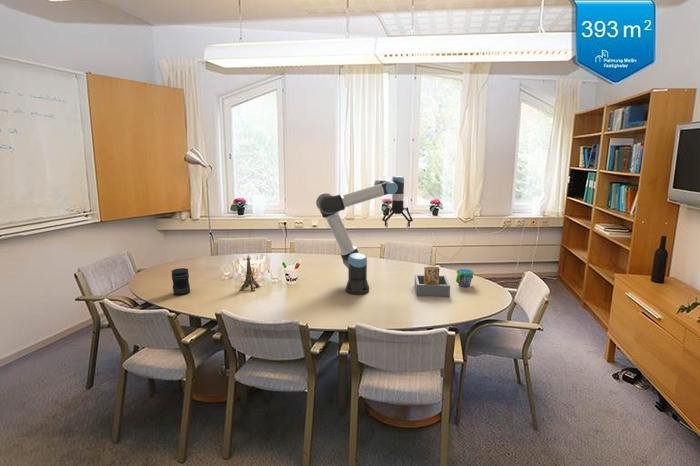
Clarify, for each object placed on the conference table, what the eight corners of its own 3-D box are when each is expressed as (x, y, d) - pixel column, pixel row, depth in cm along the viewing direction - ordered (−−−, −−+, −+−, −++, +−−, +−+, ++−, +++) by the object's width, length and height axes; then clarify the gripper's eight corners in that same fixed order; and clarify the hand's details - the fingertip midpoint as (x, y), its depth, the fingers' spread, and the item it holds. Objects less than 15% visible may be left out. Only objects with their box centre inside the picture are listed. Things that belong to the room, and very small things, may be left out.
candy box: (437, 288, 265) (438, 265, 262) (438, 290, 261) (439, 267, 258) (423, 288, 265) (424, 265, 262) (424, 290, 261) (425, 267, 258)
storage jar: (186, 289, 266) (184, 267, 263) (192, 293, 260) (191, 270, 257) (170, 293, 260) (168, 270, 257) (177, 297, 253) (175, 273, 250)
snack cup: (466, 281, 282) (466, 267, 280) (478, 285, 274) (479, 270, 271) (450, 285, 274) (450, 270, 272) (462, 290, 265) (463, 274, 263)
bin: (416, 296, 254) (416, 284, 252) (414, 285, 273) (414, 274, 272) (449, 297, 252) (450, 285, 251) (445, 286, 272) (445, 275, 270)
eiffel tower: (254, 292, 262) (252, 254, 257) (238, 290, 264) (236, 253, 259) (260, 286, 272) (259, 249, 267) (245, 285, 274) (243, 249, 269)
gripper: (416, 199, 274) (415, 230, 279) (379, 199, 276) (378, 229, 281) (417, 200, 267) (416, 232, 271) (378, 200, 269) (378, 232, 274)
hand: (397, 231), depth 276 cm, fingers open, 13 cm apart
